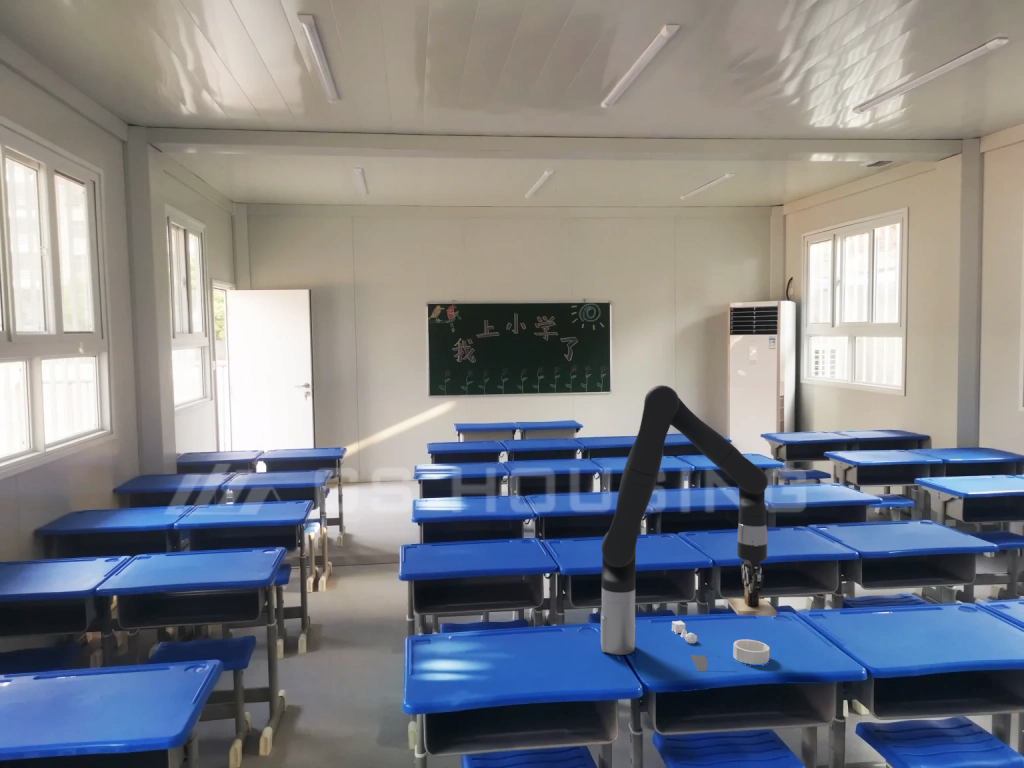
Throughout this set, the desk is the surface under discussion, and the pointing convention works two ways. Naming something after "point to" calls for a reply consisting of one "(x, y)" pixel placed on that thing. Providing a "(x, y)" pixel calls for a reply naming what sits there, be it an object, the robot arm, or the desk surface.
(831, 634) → the desk surface
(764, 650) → the bowl
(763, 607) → the lid
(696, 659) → the mat
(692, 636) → the game pieces
